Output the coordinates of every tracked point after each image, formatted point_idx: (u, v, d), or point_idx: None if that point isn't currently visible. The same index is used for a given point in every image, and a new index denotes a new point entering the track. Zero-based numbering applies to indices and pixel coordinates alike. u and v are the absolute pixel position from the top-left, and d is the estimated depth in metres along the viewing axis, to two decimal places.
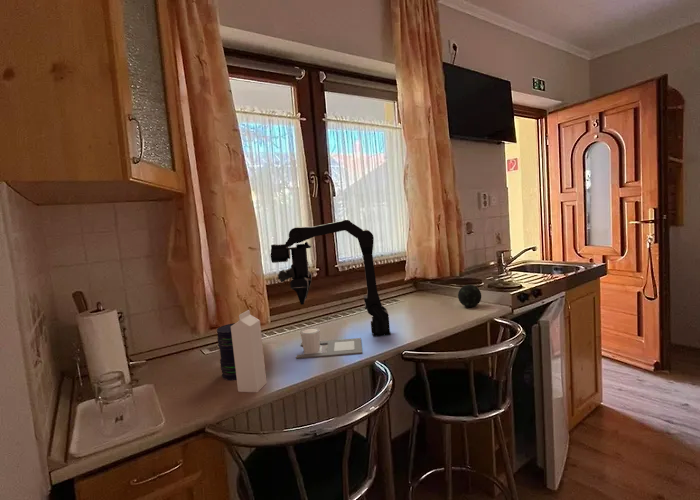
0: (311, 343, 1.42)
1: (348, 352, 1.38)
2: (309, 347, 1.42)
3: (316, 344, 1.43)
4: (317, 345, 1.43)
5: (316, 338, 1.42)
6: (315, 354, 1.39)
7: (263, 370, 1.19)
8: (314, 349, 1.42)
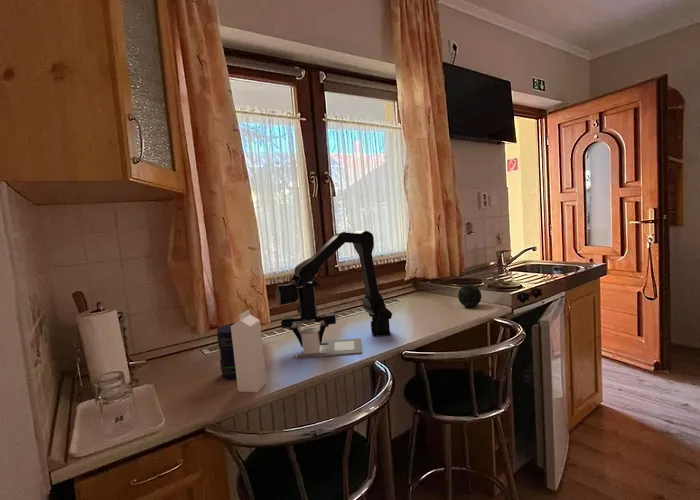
0: (311, 343, 1.42)
1: (348, 352, 1.38)
2: (309, 347, 1.42)
3: (316, 344, 1.43)
4: (317, 345, 1.43)
5: (316, 338, 1.42)
6: (315, 354, 1.39)
7: (263, 370, 1.19)
8: (314, 349, 1.42)
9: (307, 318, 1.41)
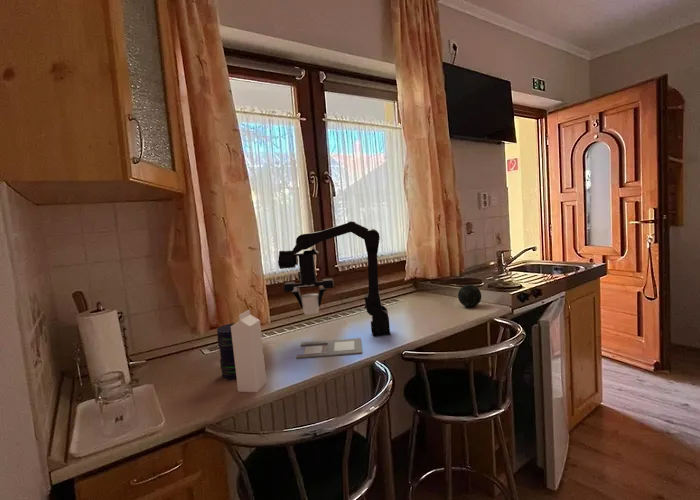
0: (311, 306, 1.55)
1: (348, 352, 1.38)
2: (309, 309, 1.55)
3: (315, 307, 1.56)
4: (316, 308, 1.56)
5: (315, 301, 1.56)
6: (315, 354, 1.39)
7: (263, 370, 1.19)
8: (313, 311, 1.55)
9: (307, 282, 1.54)
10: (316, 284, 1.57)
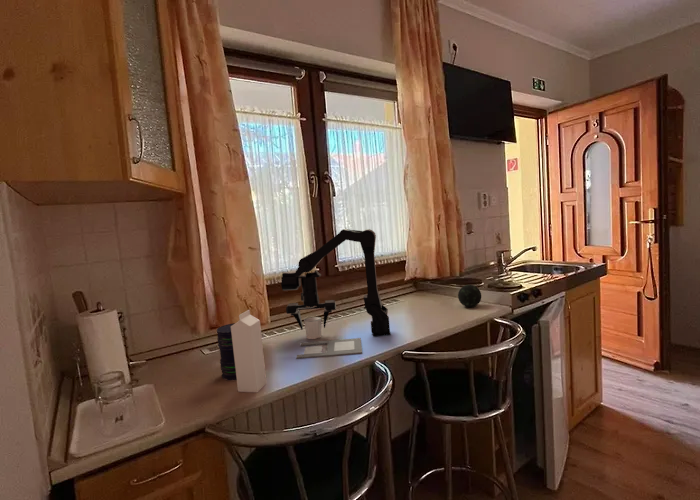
0: (314, 330, 1.57)
1: (348, 352, 1.38)
2: (312, 333, 1.57)
3: (318, 331, 1.58)
4: (319, 332, 1.59)
5: (318, 325, 1.58)
6: (315, 354, 1.39)
7: (263, 370, 1.19)
8: (316, 335, 1.58)
9: (309, 305, 1.56)
10: (321, 306, 1.59)
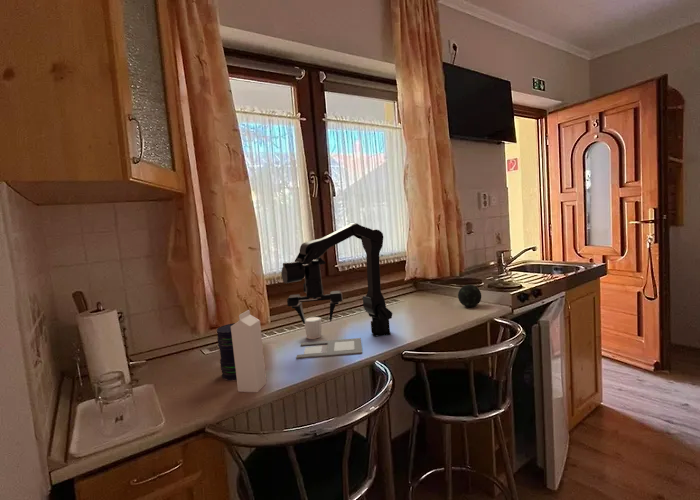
0: (314, 330, 1.57)
1: (348, 352, 1.38)
2: (312, 333, 1.57)
3: (318, 331, 1.58)
4: (319, 332, 1.59)
5: (318, 325, 1.58)
6: (315, 354, 1.39)
7: (263, 370, 1.19)
8: (316, 335, 1.58)
9: (313, 296, 1.40)
10: (327, 297, 1.43)
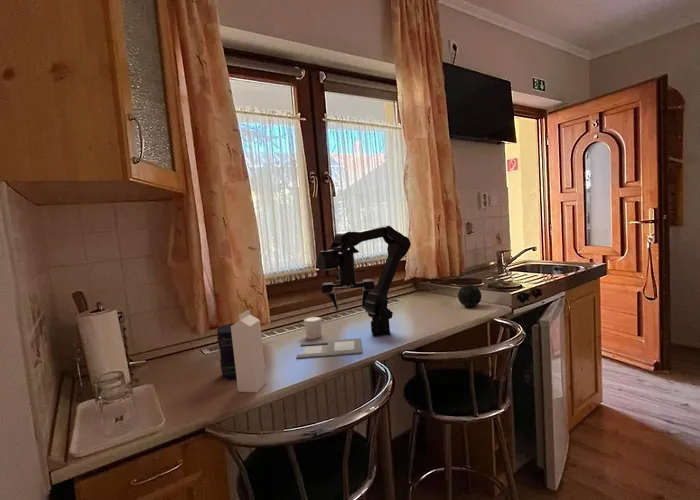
0: (314, 330, 1.57)
1: (348, 352, 1.38)
2: (312, 333, 1.57)
3: (318, 331, 1.58)
4: (319, 332, 1.59)
5: (318, 325, 1.58)
6: (315, 354, 1.39)
7: (263, 370, 1.19)
8: (316, 335, 1.58)
9: (347, 283, 1.45)
10: (359, 285, 1.48)
